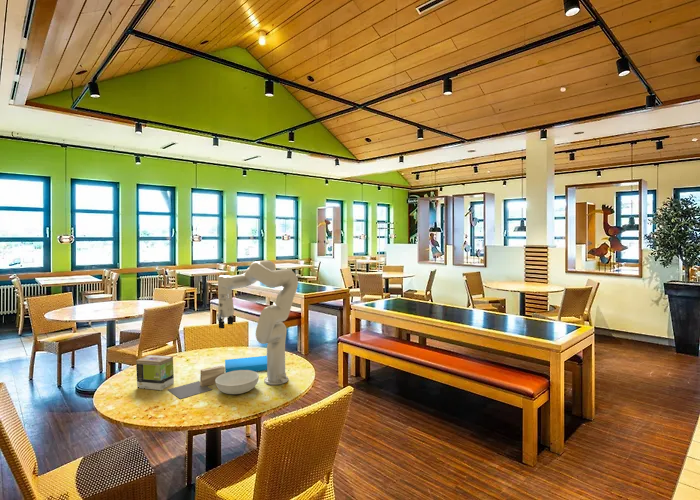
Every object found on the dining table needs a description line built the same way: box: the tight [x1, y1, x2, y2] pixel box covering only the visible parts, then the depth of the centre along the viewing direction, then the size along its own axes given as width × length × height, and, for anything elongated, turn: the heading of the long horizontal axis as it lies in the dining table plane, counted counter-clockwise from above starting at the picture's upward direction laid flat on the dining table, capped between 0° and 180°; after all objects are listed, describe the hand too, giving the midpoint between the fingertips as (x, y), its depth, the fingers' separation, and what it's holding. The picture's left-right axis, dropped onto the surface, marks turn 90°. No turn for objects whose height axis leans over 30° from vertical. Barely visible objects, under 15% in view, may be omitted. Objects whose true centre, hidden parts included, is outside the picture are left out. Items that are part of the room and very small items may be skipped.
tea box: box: [135, 354, 175, 391], centre depth 210 cm, size 15×10×15 cm
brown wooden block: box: [199, 365, 225, 387], centre depth 211 cm, size 3×12×8 cm, turn 134°
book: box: [224, 355, 267, 373], centre depth 237 cm, size 17×4×25 cm
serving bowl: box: [215, 370, 259, 395], centre depth 203 cm, size 21×21×7 cm
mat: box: [167, 380, 213, 400], centre depth 203 cm, size 16×16×1 cm
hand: (226, 326), depth 233 cm, fingers open, 9 cm apart
